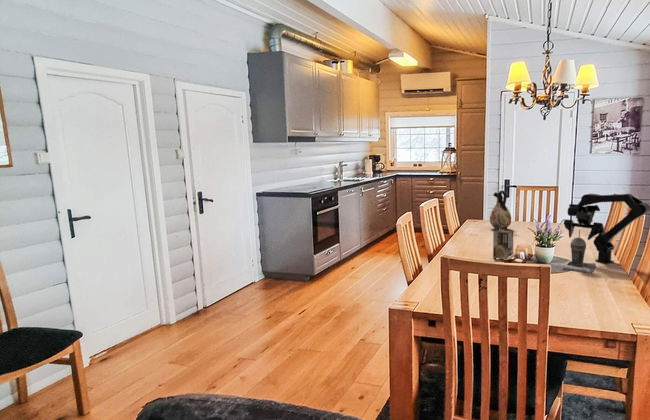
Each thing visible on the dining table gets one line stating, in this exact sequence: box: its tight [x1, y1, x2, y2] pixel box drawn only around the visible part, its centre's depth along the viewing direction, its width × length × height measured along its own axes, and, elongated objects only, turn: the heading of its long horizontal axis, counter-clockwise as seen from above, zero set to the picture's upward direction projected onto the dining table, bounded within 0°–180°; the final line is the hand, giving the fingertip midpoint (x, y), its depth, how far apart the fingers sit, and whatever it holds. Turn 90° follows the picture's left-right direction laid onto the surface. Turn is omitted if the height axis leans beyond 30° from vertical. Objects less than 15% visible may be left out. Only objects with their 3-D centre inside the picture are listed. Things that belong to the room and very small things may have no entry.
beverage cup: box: [569, 229, 587, 267], centre depth 231 cm, size 7×7×20 cm
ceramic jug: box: [489, 190, 512, 231], centre depth 336 cm, size 17×15×30 cm
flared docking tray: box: [562, 260, 597, 274], centre depth 232 cm, size 13×15×2 cm
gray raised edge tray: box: [562, 264, 597, 274], centre depth 232 cm, size 13×14×1 cm
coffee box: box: [492, 230, 514, 259], centre depth 254 cm, size 9×6×16 cm
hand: (578, 238), depth 239 cm, fingers open, 9 cm apart
